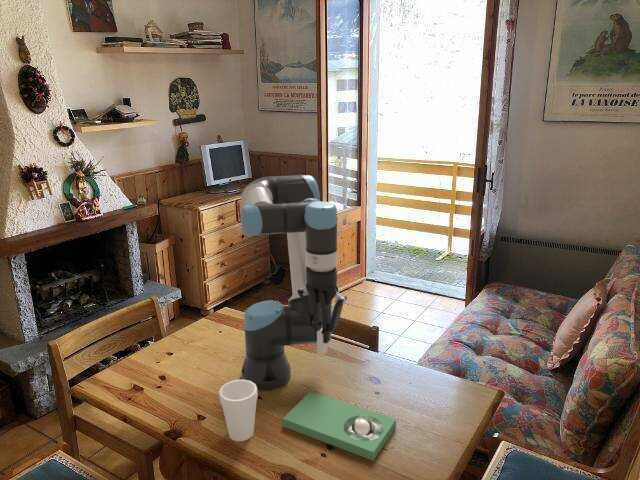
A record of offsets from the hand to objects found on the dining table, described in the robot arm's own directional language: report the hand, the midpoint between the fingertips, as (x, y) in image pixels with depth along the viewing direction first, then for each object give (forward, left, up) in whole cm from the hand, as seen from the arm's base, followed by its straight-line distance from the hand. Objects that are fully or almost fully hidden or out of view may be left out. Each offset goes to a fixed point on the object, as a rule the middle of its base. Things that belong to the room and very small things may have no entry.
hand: (322, 352), depth 133 cm
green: (+5, 0, -21) cm, 21 cm away
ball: (+11, 0, -19) cm, 22 cm away
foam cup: (-16, -15, -21) cm, 30 cm away
